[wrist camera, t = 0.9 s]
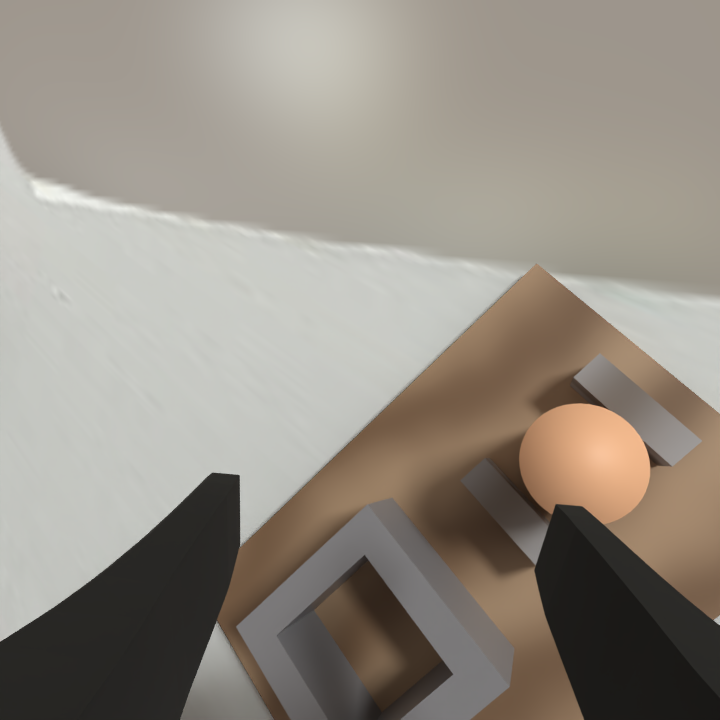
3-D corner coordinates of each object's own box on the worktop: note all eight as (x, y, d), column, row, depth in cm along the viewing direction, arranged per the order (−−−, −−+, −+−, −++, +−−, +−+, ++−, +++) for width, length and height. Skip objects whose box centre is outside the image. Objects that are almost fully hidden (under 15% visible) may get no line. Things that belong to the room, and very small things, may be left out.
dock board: (829, 513, 20) (886, 523, 17) (379, 873, 23) (354, 941, 20) (536, 270, 26) (536, 243, 23) (209, 583, 29) (168, 599, 26)
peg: (638, 466, 22) (680, 469, 15) (570, 524, 22) (583, 551, 16) (568, 401, 23) (580, 379, 17) (506, 457, 24) (494, 457, 17)
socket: (514, 648, 22) (509, 686, 18) (379, 761, 23) (349, 819, 19) (392, 497, 25) (367, 504, 22) (278, 602, 26) (235, 626, 23)
